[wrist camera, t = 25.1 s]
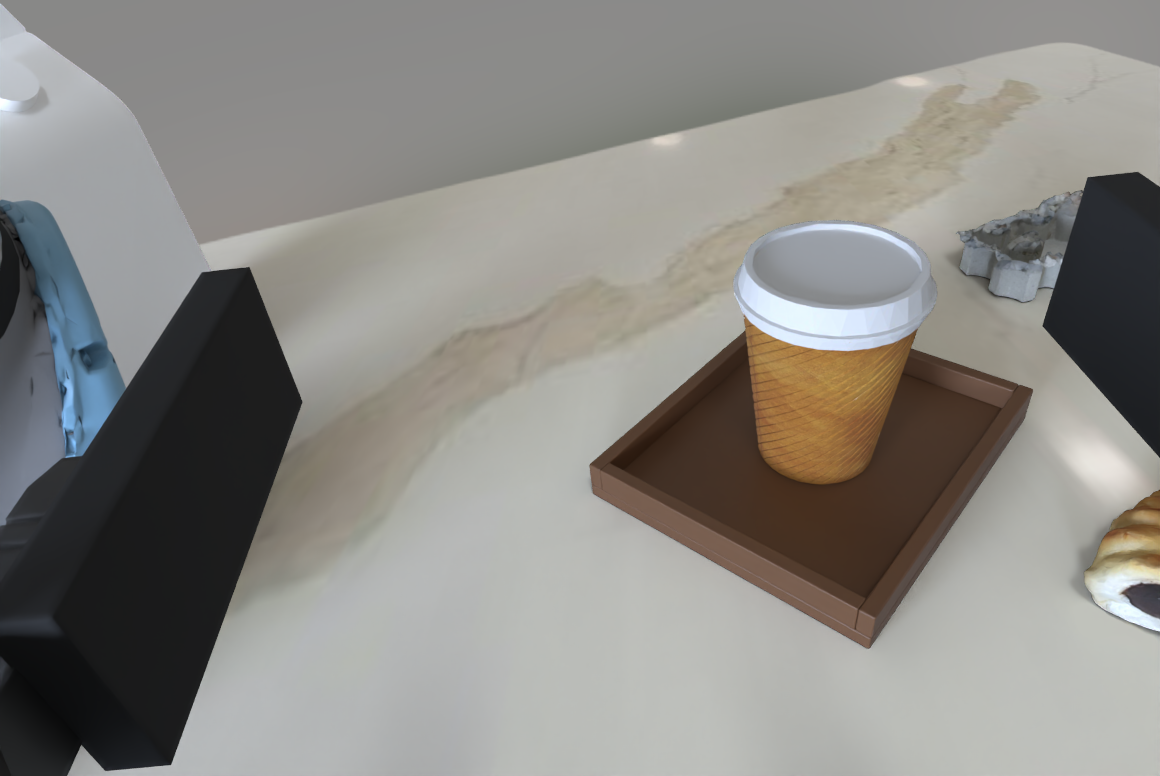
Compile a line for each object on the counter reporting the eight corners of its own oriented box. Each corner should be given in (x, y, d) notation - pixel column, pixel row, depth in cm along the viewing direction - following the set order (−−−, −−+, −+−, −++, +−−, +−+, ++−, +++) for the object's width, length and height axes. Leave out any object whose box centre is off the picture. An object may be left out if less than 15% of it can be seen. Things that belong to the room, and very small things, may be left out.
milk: (141, 323, 66) (-38, -27, 50) (248, 346, 62) (89, -29, 46) (10, 414, 58) (-255, 29, 42) (124, 447, 54) (-124, 33, 38)
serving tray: (592, 493, 46) (588, 464, 45) (774, 331, 57) (776, 303, 56) (868, 650, 37) (875, 618, 35) (1024, 419, 48) (1034, 388, 46)
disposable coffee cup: (898, 400, 49) (932, 217, 41) (908, 517, 42) (952, 321, 34) (737, 388, 51) (742, 213, 44) (720, 497, 44) (724, 309, 37)
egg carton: (1070, 235, 63) (1085, 186, 61) (1141, 282, 57) (1161, 229, 55) (942, 259, 62) (953, 209, 60) (1001, 309, 56) (1015, 257, 54)
